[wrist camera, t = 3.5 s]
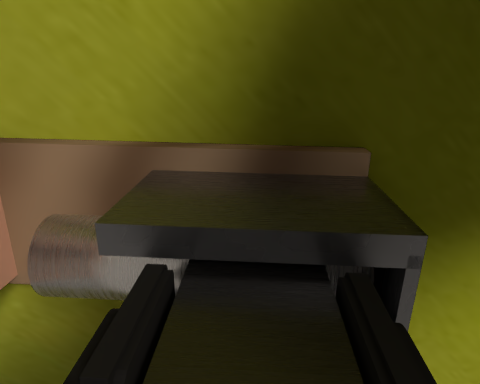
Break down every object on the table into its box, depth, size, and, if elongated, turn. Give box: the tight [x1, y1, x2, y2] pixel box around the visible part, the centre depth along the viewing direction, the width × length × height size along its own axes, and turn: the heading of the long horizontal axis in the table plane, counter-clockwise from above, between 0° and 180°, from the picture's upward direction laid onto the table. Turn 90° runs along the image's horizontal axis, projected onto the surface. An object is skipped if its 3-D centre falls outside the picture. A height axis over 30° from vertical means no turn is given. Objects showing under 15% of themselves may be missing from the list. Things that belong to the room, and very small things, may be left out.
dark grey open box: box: [95, 170, 428, 332], centre depth 13 cm, size 9×5×6 cm, turn 89°
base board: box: [0, 138, 371, 284], centre depth 16 cm, size 20×7×1 cm, turn 89°
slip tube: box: [27, 214, 374, 384], centre depth 10 cm, size 11×3×9 cm, turn 89°
